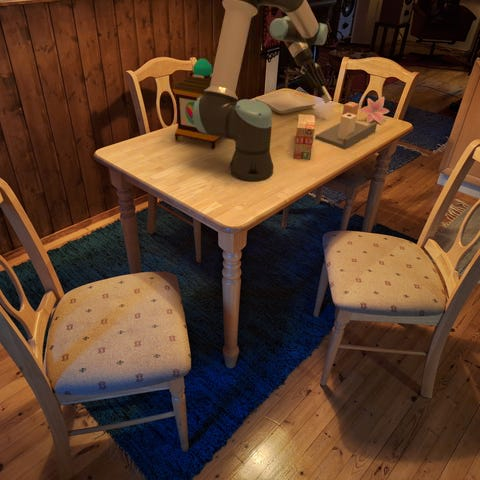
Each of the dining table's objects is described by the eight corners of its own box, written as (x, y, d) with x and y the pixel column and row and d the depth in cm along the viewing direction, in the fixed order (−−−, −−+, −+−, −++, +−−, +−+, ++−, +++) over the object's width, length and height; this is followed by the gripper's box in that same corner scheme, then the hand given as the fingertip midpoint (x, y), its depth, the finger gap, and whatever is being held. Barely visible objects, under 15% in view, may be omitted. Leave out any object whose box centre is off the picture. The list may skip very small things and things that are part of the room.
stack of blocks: (296, 135, 171) (299, 106, 164) (311, 137, 170) (315, 107, 163) (293, 158, 154) (296, 126, 147) (310, 160, 153) (314, 128, 146)
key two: (348, 128, 174) (352, 106, 168) (340, 125, 176) (344, 103, 170) (354, 125, 177) (359, 103, 171) (346, 122, 179) (350, 100, 173)
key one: (346, 141, 163) (350, 117, 158) (337, 138, 166) (341, 115, 160) (352, 137, 166) (357, 114, 161) (344, 134, 169) (348, 111, 163)
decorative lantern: (237, 133, 171) (239, 55, 153) (215, 152, 157) (214, 69, 139) (194, 124, 178) (191, 49, 160) (170, 142, 163) (163, 61, 145)
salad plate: (287, 96, 210) (288, 90, 208) (315, 110, 196) (316, 102, 194) (253, 104, 201) (253, 96, 199) (280, 118, 187) (280, 110, 185)
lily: (352, 121, 187) (360, 107, 178) (363, 105, 192) (371, 90, 183) (376, 134, 186) (385, 120, 177) (387, 117, 190) (396, 103, 181)
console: (345, 149, 161) (346, 139, 159) (315, 138, 169) (316, 129, 166) (375, 132, 176) (377, 122, 173) (346, 122, 183) (347, 114, 181)
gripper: (304, 55, 184) (330, 102, 186) (286, 60, 176) (314, 109, 178) (315, 44, 178) (342, 93, 180) (297, 49, 170) (326, 100, 172)
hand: (328, 101), depth 179 cm, fingers closed
